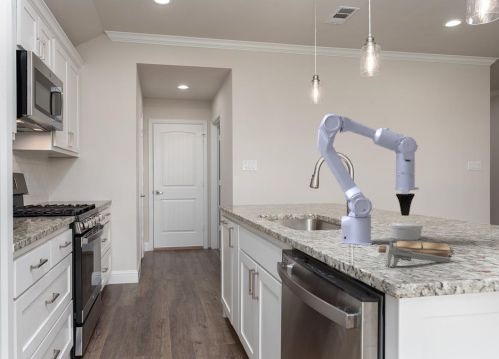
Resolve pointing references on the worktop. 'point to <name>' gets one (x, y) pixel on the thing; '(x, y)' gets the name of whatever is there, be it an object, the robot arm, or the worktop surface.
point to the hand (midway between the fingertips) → (405, 215)
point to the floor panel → (420, 251)
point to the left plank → (408, 244)
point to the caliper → (408, 256)
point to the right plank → (436, 246)
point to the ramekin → (405, 231)
